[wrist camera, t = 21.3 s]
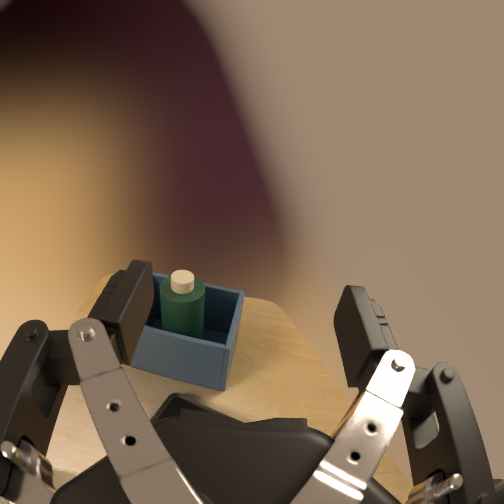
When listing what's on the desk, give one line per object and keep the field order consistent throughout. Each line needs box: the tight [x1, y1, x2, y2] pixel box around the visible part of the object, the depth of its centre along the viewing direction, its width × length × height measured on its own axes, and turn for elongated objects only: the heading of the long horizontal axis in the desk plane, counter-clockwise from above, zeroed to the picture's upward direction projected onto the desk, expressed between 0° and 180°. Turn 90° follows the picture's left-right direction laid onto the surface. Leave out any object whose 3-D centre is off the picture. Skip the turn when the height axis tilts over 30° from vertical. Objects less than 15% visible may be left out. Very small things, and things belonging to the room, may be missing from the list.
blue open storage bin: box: [128, 273, 245, 391], centre depth 38 cm, size 13×10×8 cm
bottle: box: [160, 270, 205, 340], centre depth 36 cm, size 5×5×12 cm
